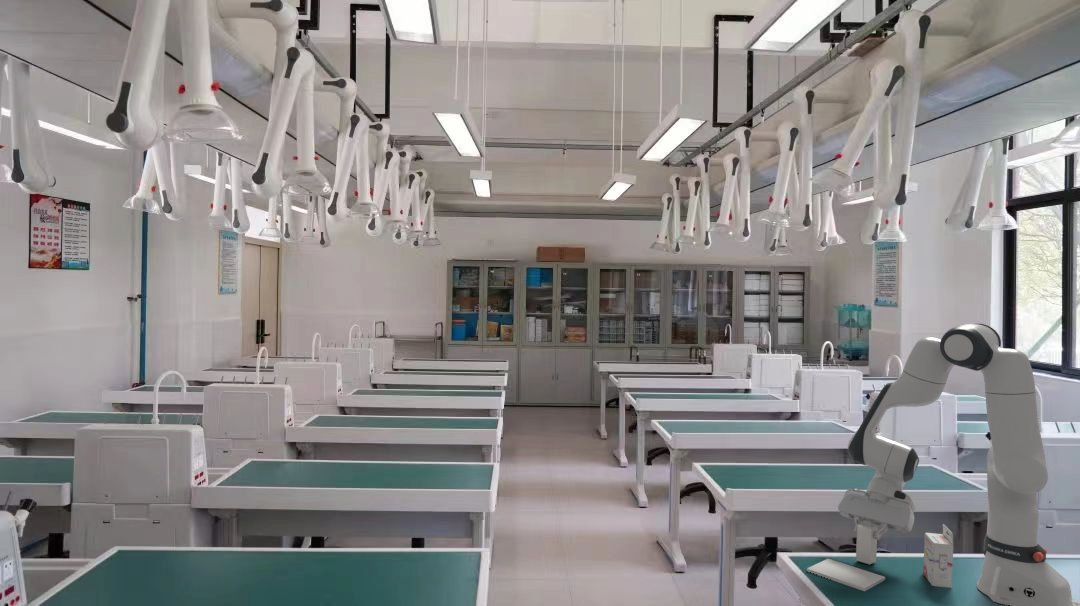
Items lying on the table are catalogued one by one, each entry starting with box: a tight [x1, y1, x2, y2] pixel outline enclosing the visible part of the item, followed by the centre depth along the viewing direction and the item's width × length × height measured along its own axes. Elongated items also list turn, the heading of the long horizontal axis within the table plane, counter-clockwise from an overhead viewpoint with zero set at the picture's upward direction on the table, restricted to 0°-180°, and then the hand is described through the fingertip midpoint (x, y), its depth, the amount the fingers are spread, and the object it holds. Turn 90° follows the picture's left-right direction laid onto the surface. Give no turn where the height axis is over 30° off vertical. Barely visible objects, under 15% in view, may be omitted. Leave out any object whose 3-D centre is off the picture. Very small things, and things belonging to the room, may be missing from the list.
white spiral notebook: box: [806, 558, 886, 592], centre depth 198 cm, size 16×12×1 cm
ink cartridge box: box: [922, 523, 954, 589], centre depth 196 cm, size 9×5×15 cm, turn 169°
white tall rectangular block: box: [855, 520, 879, 565], centre depth 208 cm, size 4×4×11 cm
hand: (866, 535), depth 207 cm, fingers closed on white tall rectangular block, 4 cm apart
